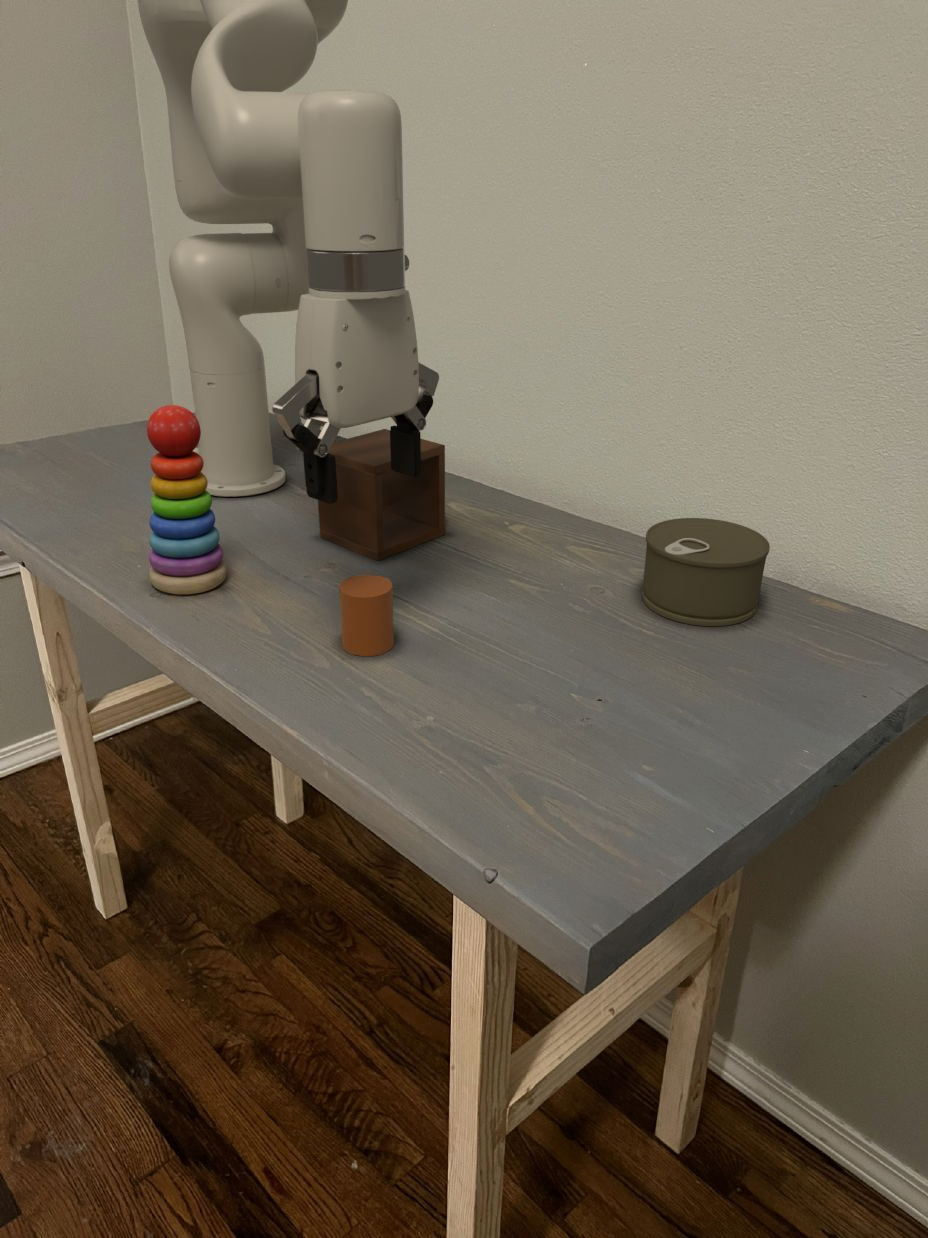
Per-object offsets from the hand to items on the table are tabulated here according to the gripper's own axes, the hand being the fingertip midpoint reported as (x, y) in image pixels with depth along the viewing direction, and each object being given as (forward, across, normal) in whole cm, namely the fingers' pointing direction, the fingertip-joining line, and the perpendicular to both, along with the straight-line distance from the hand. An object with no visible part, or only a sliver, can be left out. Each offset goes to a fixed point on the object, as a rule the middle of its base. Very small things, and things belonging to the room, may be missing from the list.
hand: (365, 485), depth 79 cm
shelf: (+15, -19, -19) cm, 31 cm away
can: (+16, -29, +18) cm, 38 cm away
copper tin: (+15, 0, 0) cm, 15 cm away
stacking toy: (+15, +4, -24) cm, 29 cm away
